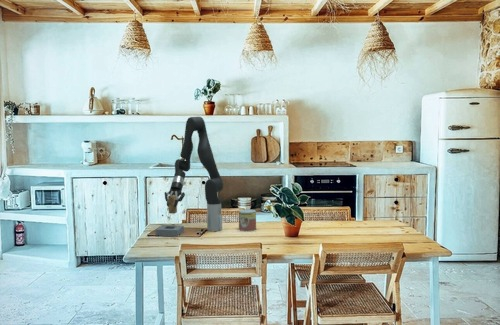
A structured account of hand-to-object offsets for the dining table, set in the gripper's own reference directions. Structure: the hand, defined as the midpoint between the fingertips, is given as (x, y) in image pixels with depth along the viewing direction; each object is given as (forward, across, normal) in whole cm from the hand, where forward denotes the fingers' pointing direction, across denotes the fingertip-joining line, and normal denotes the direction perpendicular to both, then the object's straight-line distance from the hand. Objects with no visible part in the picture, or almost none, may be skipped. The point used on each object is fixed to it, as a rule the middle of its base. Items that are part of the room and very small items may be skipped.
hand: (171, 206), depth 279 cm
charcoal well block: (+15, 0, +9) cm, 17 cm away
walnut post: (+2, 0, +5) cm, 5 cm away
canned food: (+2, +46, +23) cm, 51 cm away
